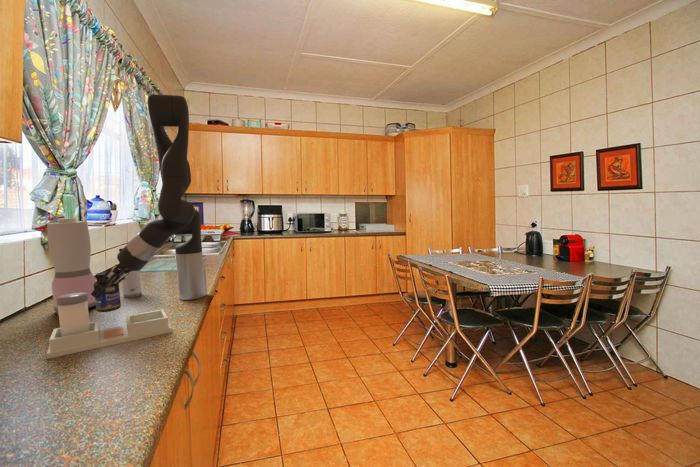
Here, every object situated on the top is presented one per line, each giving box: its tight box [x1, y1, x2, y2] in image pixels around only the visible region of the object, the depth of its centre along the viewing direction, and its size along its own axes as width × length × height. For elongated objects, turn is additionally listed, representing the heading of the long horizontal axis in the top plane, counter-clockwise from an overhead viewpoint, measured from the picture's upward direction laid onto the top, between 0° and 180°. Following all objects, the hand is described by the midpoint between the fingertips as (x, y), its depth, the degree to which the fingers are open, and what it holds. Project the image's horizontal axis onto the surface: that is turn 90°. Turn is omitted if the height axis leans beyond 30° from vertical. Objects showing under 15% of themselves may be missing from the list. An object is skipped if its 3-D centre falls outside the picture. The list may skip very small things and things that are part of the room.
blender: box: [46, 217, 97, 316], centre depth 125 cm, size 16×12×32 cm
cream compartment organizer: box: [45, 293, 173, 359], centre depth 96 cm, size 27×11×13 cm, turn 124°
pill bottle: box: [94, 271, 122, 313], centre depth 105 cm, size 6×6×11 cm
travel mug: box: [118, 247, 143, 298], centre depth 141 cm, size 6×7×20 cm
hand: (101, 292), depth 105 cm, fingers closed on pill bottle, 6 cm apart
